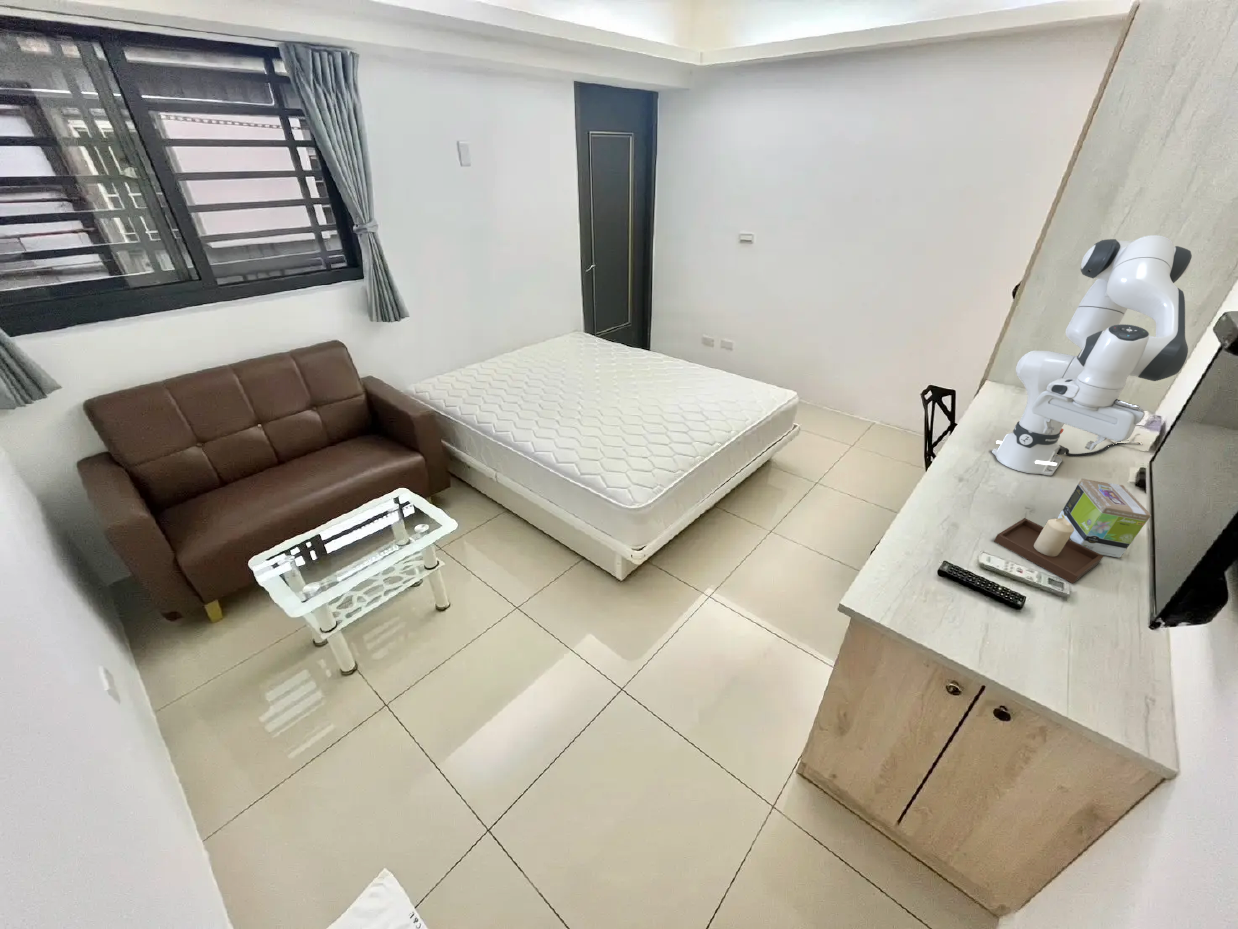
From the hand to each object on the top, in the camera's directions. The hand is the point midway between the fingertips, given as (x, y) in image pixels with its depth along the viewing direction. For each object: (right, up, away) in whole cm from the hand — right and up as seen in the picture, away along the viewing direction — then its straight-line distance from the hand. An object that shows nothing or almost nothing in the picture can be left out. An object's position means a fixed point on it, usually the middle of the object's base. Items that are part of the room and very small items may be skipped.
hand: (1067, 440), depth 127 cm
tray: (-2, -30, +4) cm, 31 cm away
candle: (-2, -30, +4) cm, 30 cm away
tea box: (+14, -27, +9) cm, 32 cm away
